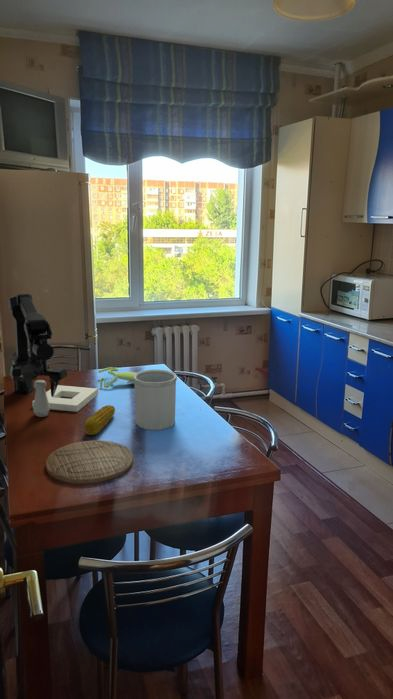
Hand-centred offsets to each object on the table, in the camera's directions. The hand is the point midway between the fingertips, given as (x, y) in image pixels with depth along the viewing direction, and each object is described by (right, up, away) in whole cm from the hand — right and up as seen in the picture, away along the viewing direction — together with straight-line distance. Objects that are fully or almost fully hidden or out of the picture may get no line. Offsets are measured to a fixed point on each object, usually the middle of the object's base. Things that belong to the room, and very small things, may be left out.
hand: (40, 395), depth 184 cm
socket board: (+5, -4, +17) cm, 18 cm away
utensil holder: (+42, -10, -3) cm, 43 cm away
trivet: (+25, -17, -34) cm, 45 cm away
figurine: (+25, +1, +40) cm, 47 cm away
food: (+23, -10, -6) cm, 26 cm away
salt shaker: (0, -7, +2) cm, 8 cm away
